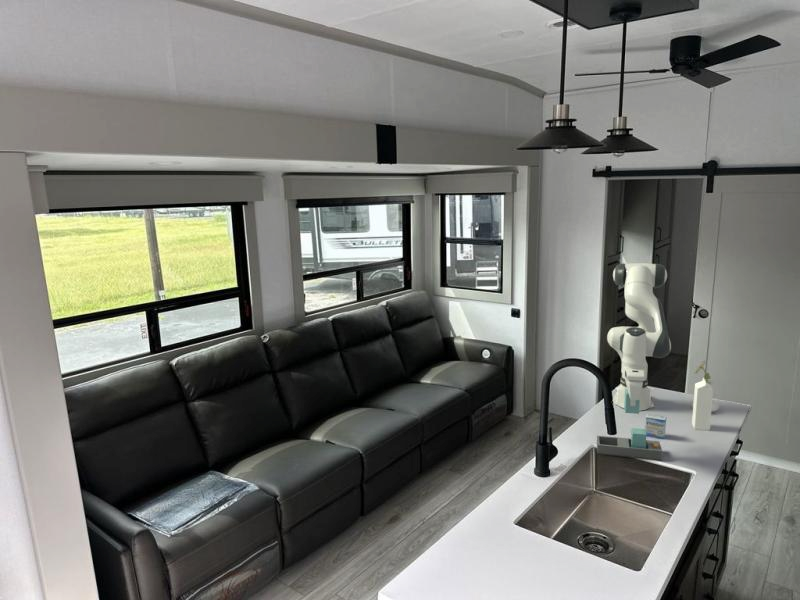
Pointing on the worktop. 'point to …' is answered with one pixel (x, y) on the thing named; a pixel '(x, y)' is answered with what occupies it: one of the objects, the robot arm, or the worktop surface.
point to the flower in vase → (707, 376)
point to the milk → (702, 405)
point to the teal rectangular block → (628, 407)
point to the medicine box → (655, 426)
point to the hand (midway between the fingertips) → (631, 402)
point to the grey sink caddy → (630, 446)
